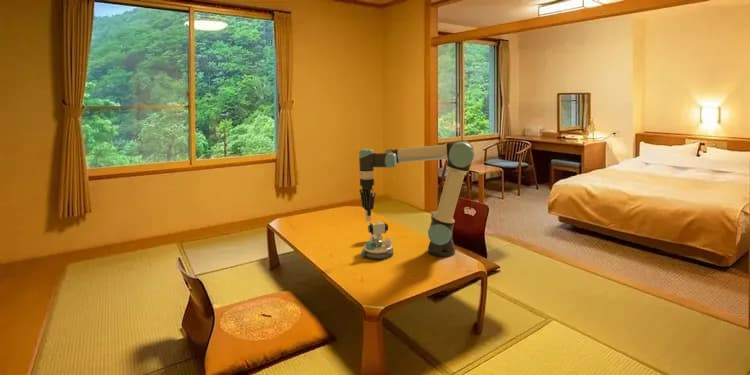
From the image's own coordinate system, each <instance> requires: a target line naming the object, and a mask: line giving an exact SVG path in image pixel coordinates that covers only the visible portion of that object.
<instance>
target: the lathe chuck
mask: <svg viewBox="0 0 750 375" xmlns="http://www.w3.org/2000/svg"><path fill="white" fill-rule="evenodd" d="M369 239H370V240H367V241H366V242H365V243H364V245H363V246H362V247H363V248H362V251H363V250H364V251H365V252H366V253H369V254H386V253H389V252H391V251H392V248H393V245H392V243H393V242H392V238H388V237H386V238H385V240H383V239H382V240H381V239H378V236H377V235H372V234H370V235H369Z"/></svg>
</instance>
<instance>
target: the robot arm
mask: <svg viewBox="0 0 750 375" xmlns="http://www.w3.org/2000/svg"><path fill="white" fill-rule="evenodd" d="M474 150H475V149H474V146H473V145H472V143H471V142H470V141H468V140H465V139H459V140H455V141H447V142H445V144H437V145H426V146H418V147H417V146H416V147H408V148H406V147H405V148H397V149H392V148H389V149H386V150H385V151H384V152H374V150H373V148H361V149H360V150H359V151H358V161H359V162H358V164H359V167H358V168H359V178H360V179H359V186H360V187H361V189H359V190H358V191H359V194H360V199H361V200H360V202H361V207H362V208H363V209H364V216H365V217H364V220H365V222H367V223H368V222H371V221H372V210H373V209H374V207H375V206H374V204H375V197H376V192H374V191H373V187H374V185H375V179H374V177H375V168H387V169H391V168H395V167H396V166H397V164H400V163H409V162H410V163H411V162H413V163H415V162H424V161H438V160H446V161H447V162H446V165H445V166H446V167H447V174H446V177H445V179H444V180H445V181H444V183H443V187H442V192H441V195H440V199H439V202H438V203H439V204H438V206H437V209H436V211H434V212H432V213H431V215H430V218H431V220H430V224H429V228H428V230H427V234H428V238H429V244H428V247H427V252H428V254H429V255H431V256H433V257H439V258H444V257H447V258H448V257H451V256H454V255H455V254H456V247H455V244H454V240H453V229H454V226H455V222H456V220H455V219H454V215H455V211H456V207H457V204H458V201H459V197H460V193H461V189H462V186H463V183H464V178H465V176H466V174H467V173H468V172H470V170H471V169H470V168H471V166H472V162H473V161H474V158H475V151H474Z"/></svg>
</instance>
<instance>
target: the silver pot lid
mask: <svg viewBox="0 0 750 375" xmlns="http://www.w3.org/2000/svg"><path fill="white" fill-rule="evenodd" d="M360 253H361V259H363V260H364V259H366V260H369V261H385V260H384V259H386V260H388V258H389V259H391V258H392V257H393V256H394V248H393V247H392V251H391V252H389V253H386V254H369V253H366V252H365V251H364V250H363V249H362V250H361V252H360Z"/></svg>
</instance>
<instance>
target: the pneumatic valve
mask: <svg viewBox="0 0 750 375" xmlns="http://www.w3.org/2000/svg"><path fill="white" fill-rule="evenodd" d="M388 231H389V225H388V224H387V223H386V222H385V221H376V222H369V224H368V226H367V232H368V233H370V235H377V236H378V239H381V240H382V241H383V237H384V236H383V234H387V232H388Z"/></svg>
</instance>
